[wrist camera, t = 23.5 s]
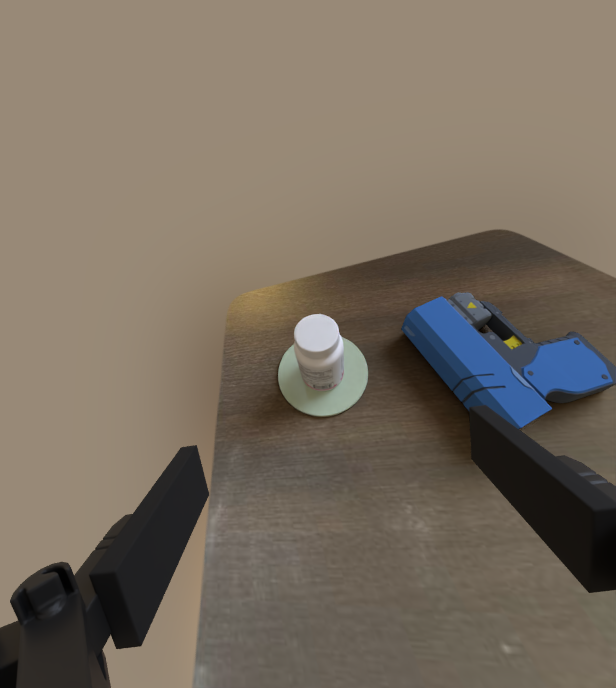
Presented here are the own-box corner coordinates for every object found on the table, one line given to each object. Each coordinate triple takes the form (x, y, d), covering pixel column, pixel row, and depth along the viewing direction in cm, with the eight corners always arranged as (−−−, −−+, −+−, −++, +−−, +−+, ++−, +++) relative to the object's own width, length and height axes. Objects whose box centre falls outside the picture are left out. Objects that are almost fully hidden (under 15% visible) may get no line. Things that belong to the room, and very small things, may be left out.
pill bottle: (319, 345, 37) (313, 301, 30) (352, 368, 35) (354, 327, 28) (292, 375, 35) (278, 336, 28) (325, 401, 33) (320, 366, 26)
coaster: (281, 422, 33) (280, 421, 33) (276, 341, 38) (275, 339, 38) (376, 410, 33) (376, 408, 32) (358, 329, 38) (358, 328, 38)
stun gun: (511, 263, 37) (404, 310, 33) (641, 369, 29) (521, 445, 25) (493, 288, 40) (396, 333, 37) (605, 388, 32) (496, 457, 29)
